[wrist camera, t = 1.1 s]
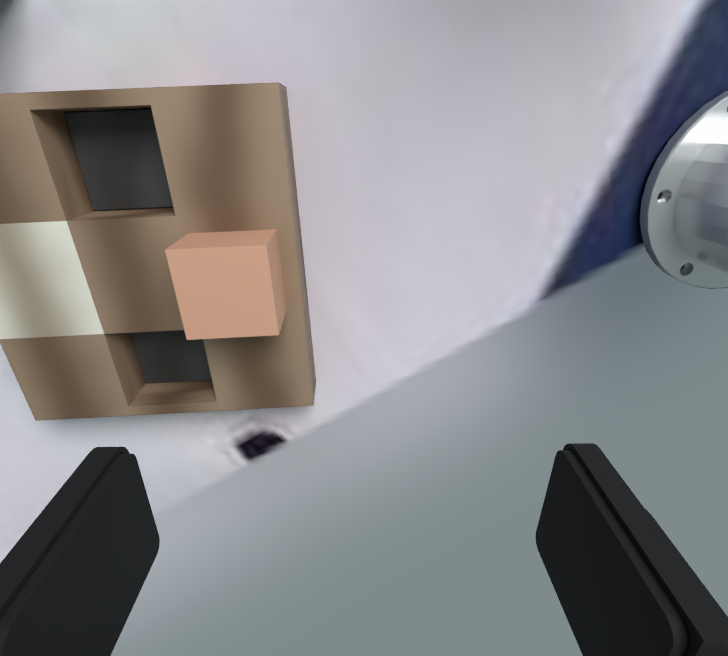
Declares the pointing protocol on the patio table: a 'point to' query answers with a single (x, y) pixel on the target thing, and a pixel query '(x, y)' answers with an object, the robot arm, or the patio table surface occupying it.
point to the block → (228, 283)
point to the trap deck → (142, 247)
